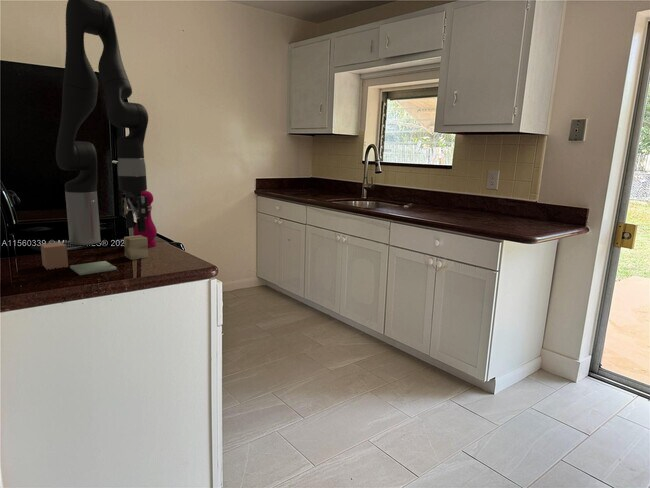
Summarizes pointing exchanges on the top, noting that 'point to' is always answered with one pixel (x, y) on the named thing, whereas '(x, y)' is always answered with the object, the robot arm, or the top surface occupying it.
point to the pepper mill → (148, 223)
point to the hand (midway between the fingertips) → (135, 229)
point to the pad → (93, 267)
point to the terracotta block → (54, 255)
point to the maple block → (136, 247)
